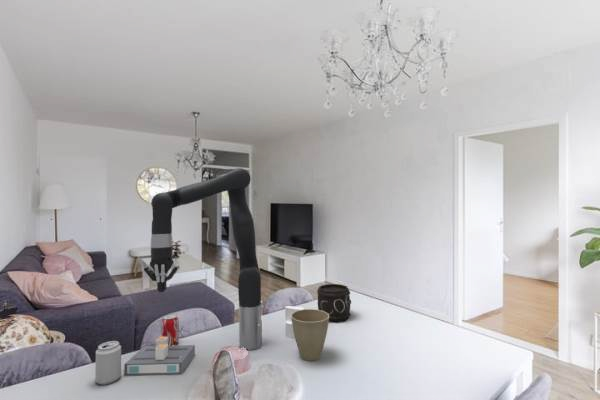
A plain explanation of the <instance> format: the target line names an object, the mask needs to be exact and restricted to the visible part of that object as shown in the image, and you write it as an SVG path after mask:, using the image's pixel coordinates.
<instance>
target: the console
mask: <svg viewBox="0 0 600 400" xmlns="http://www.w3.org/2000/svg"><path fill="white" fill-rule="evenodd" d="M195 346H196V345H195V344H184V345H183V344H179V345H177V344H176V345H174V346H168V356H167V357H166V358H165V359H164V360H155V349H156V345H144V346H143V347H142V348H140V349H139V350H138V351H137V352H136V353H135V354H134V355H132V357H130V358H129V359H128V360H127V361H126V362H125V363H124V364H123V366H124V367H123V368H124V373H123V374H124V376H154V375H155V376H157V375H182V374H183V373H184V372H185V370H186V369H187V367H188V366H189V364H190V363H191V361H192V360H193V358H194V357H195V355H196V347H195Z"/></svg>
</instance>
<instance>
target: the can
mask: <svg viewBox="0 0 600 400" xmlns="http://www.w3.org/2000/svg"><path fill="white" fill-rule="evenodd" d="M121 376H122V345H120V342H119V341H117V340H112V341H110V340H109V341H106V342H103V343H100V344H99V345H98V346H97V349H96V350H95V383H97V384H99V385H100V386H101V385H103V386H104V385H109V384H112V383H114V382H116V381H118V379H120V378H121Z"/></svg>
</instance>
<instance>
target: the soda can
mask: <svg viewBox="0 0 600 400" xmlns="http://www.w3.org/2000/svg"><path fill="white" fill-rule="evenodd" d="M179 323H180V321H179V318H178V315H177V314H175V313H171V314H170V313H169V314H166V315H164V316H162V320H161V322H160V337H168V346H173V345H175V344H176V345H177V344H178V343H179V342H180V341H179V338H180V324H179Z"/></svg>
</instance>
